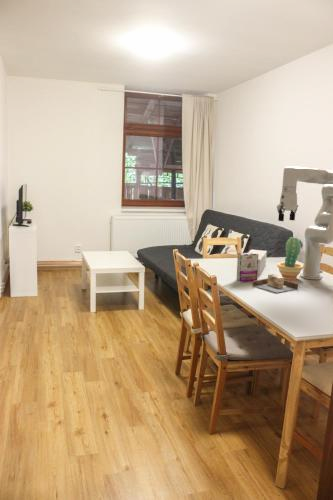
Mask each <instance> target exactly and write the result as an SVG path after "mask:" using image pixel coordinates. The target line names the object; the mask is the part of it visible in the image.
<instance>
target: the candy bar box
mask: <svg viewBox="0 0 333 500" xmlns="http://www.w3.org/2000/svg"><path fill="white" fill-rule="evenodd" d="M236 263H237V265H236V282H239V283H250V282H251V283H253V281H255V280H258V276H257V270H258V254H257V253H248V252H238V253H237V262H236Z"/></svg>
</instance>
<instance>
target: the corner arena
mask: <svg viewBox="0 0 333 500" xmlns="http://www.w3.org/2000/svg"><path fill="white" fill-rule="evenodd" d="M251 283H252V285H251V286H252V287H254V288H257V289H261V290H263V291H266V292H270V293H273V294H277V293H278V294H282V293H286V292H290V291H295V290H298V289H299V283H298V282H294V281H291V280H290V281H289V280H287V279H284V285H283V286H281V287H277V286H273V285H270V284H267V283H268V277H267V278H261V279H257V280H255V281H253V282H251Z"/></svg>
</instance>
